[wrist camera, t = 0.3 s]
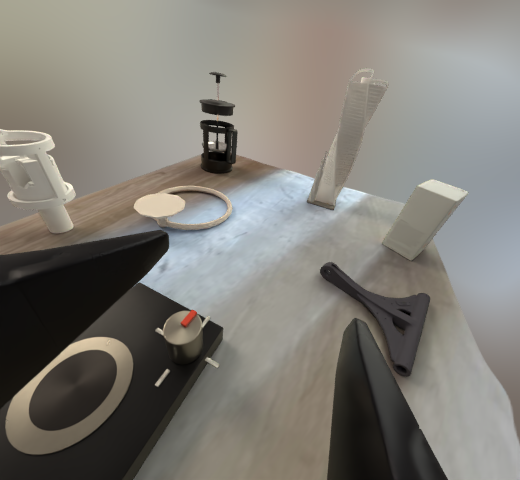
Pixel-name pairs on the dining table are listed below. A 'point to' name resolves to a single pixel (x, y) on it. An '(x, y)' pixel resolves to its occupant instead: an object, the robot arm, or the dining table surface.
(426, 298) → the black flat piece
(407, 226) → the small box
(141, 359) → the stove
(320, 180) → the skyscraper
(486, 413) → the dining table surface
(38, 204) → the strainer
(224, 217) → the hand towel holder
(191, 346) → the burner knob
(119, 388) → the burner
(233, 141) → the french press
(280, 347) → the dining table surface
